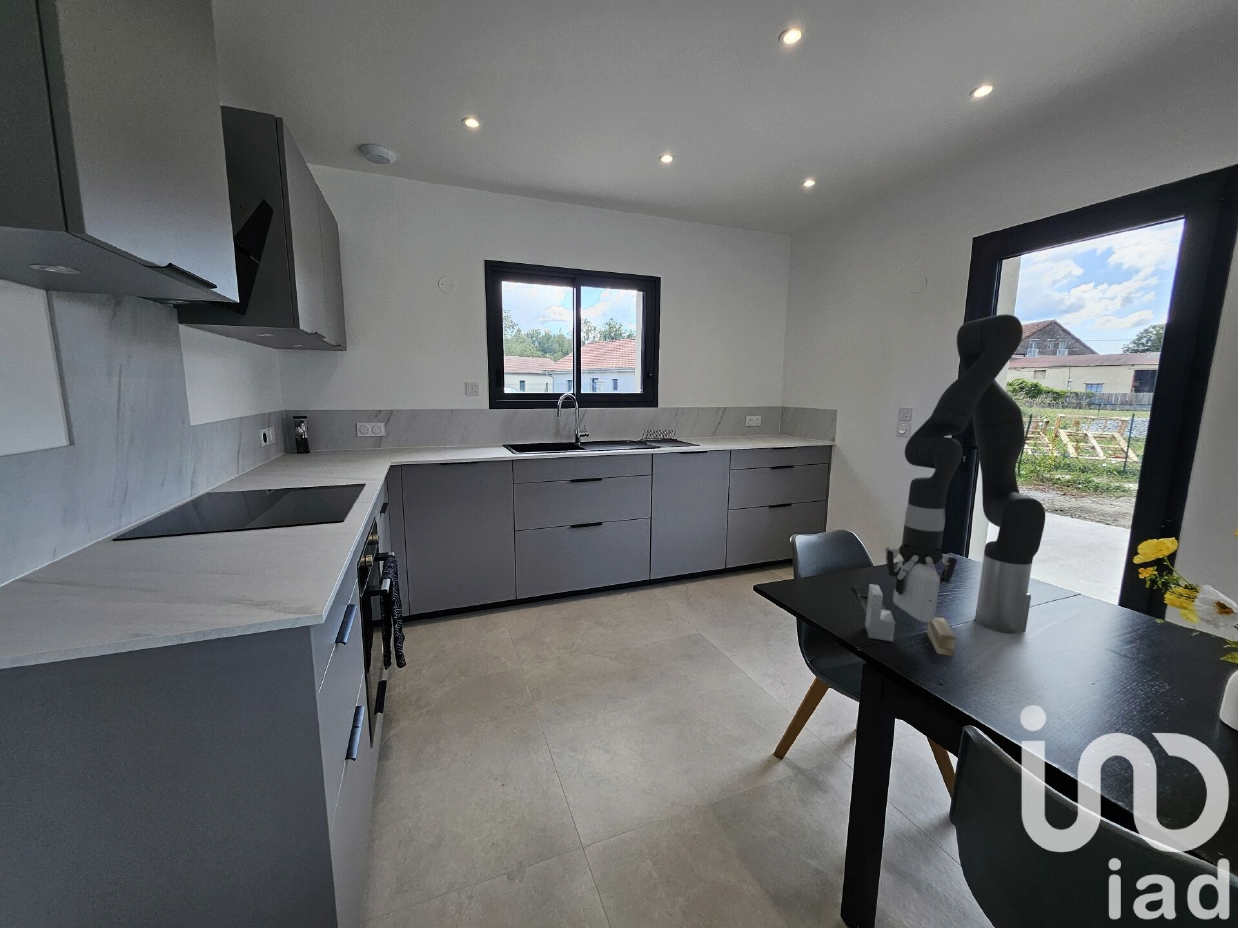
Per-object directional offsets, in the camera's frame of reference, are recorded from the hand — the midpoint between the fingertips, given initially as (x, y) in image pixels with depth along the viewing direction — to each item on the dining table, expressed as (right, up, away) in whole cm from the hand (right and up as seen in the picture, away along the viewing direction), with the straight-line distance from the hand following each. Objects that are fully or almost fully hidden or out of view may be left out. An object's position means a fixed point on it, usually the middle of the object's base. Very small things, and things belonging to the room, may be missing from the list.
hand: (914, 595), depth 111 cm
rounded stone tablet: (0, -4, +1) cm, 4 cm away
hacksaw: (+2, -9, +18) cm, 20 cm away
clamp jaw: (-6, -10, +4) cm, 12 cm away
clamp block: (+5, -11, 0) cm, 12 cm away
